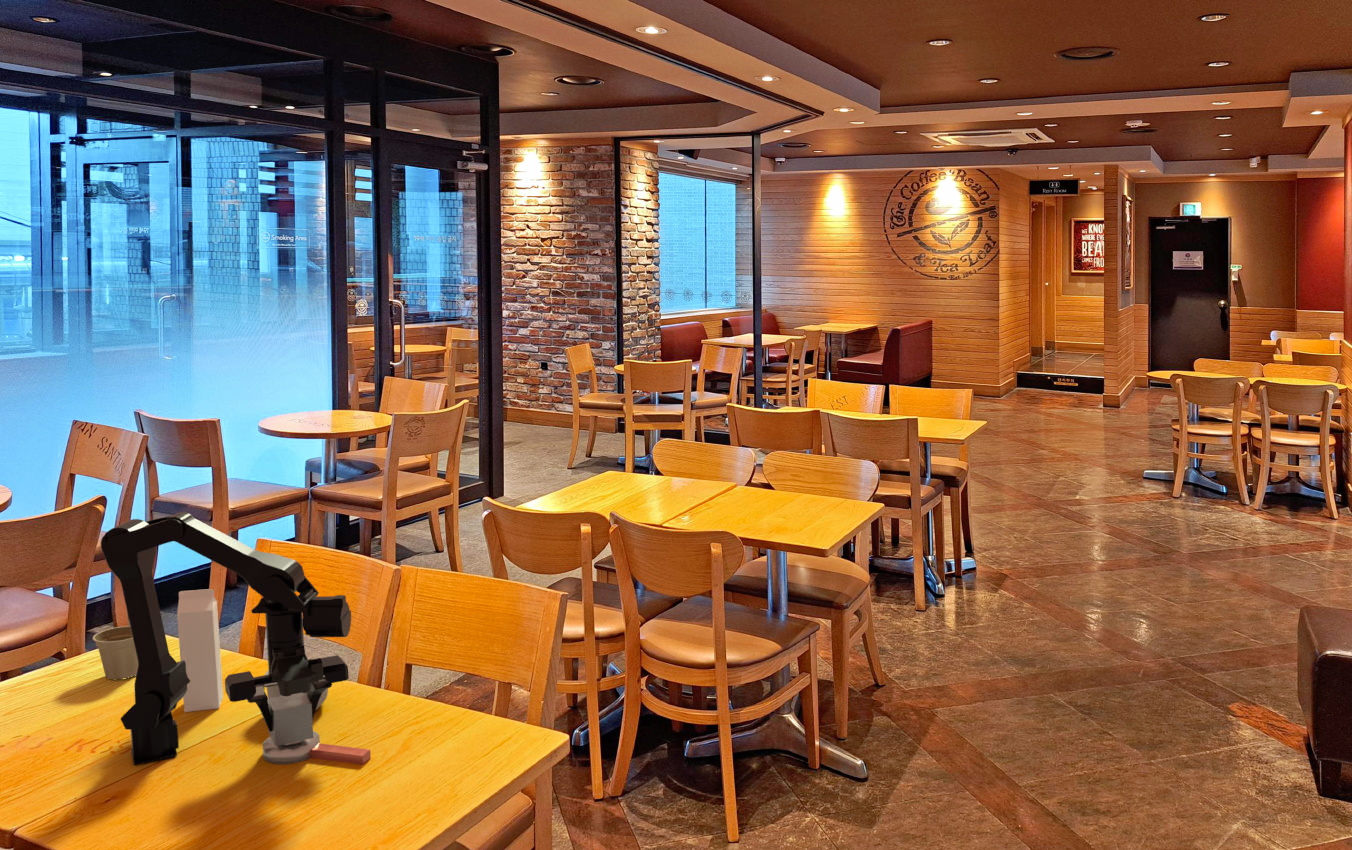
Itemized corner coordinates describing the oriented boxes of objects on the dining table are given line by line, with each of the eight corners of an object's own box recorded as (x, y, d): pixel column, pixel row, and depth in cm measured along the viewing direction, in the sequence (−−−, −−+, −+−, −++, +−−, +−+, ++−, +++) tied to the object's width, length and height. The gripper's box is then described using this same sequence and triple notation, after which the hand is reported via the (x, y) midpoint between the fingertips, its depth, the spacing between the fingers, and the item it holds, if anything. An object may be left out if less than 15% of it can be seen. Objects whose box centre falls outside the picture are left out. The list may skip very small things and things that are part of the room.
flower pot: (85, 682, 210) (81, 640, 209) (117, 665, 219) (114, 624, 218) (128, 685, 208) (125, 642, 207) (159, 667, 218) (156, 626, 216)
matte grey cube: (275, 746, 175) (273, 711, 174) (268, 732, 180) (266, 698, 179) (313, 737, 178) (311, 703, 177) (305, 724, 183) (303, 691, 182)
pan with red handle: (251, 760, 177) (250, 732, 176) (284, 737, 185) (282, 710, 184) (352, 773, 172) (350, 744, 171) (380, 749, 181) (379, 721, 180)
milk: (219, 709, 197) (211, 593, 194) (183, 712, 196) (175, 596, 192) (223, 696, 203) (216, 583, 200) (188, 699, 202) (181, 586, 198)
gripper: (232, 662, 165) (238, 758, 168) (354, 641, 175) (359, 732, 177) (221, 641, 175) (227, 731, 177) (338, 622, 184) (342, 708, 186)
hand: (290, 726), depth 179 cm, fingers closed on matte grey cube, 6 cm apart
